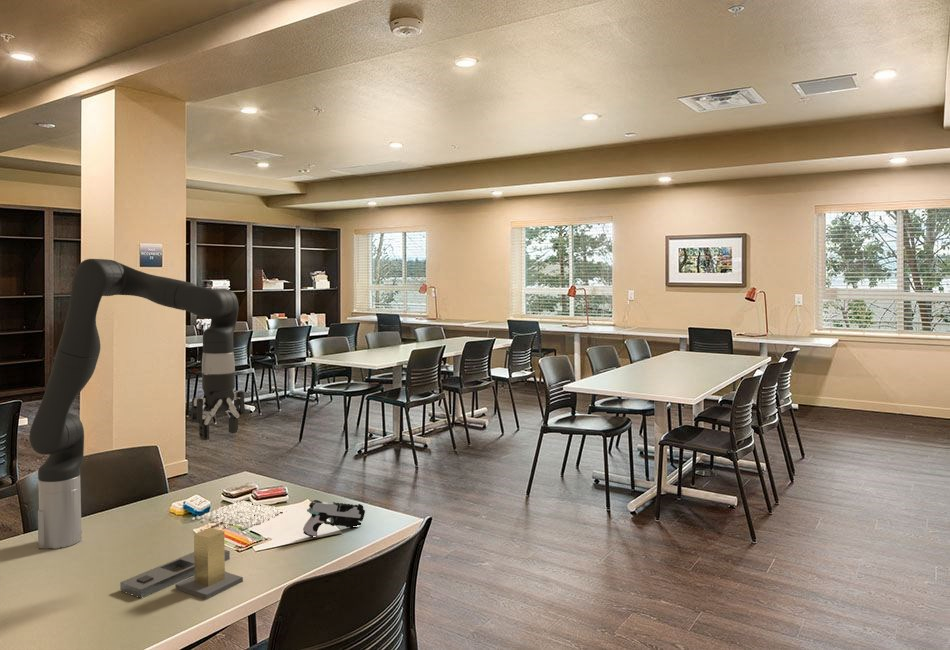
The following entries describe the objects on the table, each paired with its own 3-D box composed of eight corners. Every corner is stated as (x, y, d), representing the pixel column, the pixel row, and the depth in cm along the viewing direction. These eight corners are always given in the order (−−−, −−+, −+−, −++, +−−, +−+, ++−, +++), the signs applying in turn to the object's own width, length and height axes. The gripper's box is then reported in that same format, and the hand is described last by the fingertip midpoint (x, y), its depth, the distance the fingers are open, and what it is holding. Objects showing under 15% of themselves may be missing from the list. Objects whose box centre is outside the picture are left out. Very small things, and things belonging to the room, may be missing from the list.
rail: (141, 598, 146) (140, 588, 145) (120, 591, 149) (120, 580, 149) (229, 559, 167) (229, 549, 167) (209, 553, 170) (209, 544, 170)
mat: (206, 599, 146) (206, 594, 146) (175, 588, 150) (175, 584, 150) (242, 581, 155) (242, 577, 154) (212, 571, 159) (212, 567, 159)
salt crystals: (291, 513, 202) (291, 507, 202) (243, 533, 184) (243, 527, 184) (239, 503, 211) (239, 497, 210) (189, 521, 193) (189, 516, 192)
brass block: (208, 586, 149) (207, 537, 149) (194, 582, 152) (193, 533, 151) (224, 578, 153) (224, 531, 153) (211, 574, 156) (210, 527, 155)
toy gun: (357, 542, 189) (367, 506, 190) (303, 537, 179) (313, 500, 180) (354, 539, 191) (363, 504, 192) (299, 535, 180) (309, 497, 182)
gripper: (230, 366, 174) (231, 429, 175) (183, 372, 161) (184, 440, 162) (251, 368, 170) (252, 432, 171) (205, 375, 157) (205, 444, 159)
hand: (219, 436), depth 167 cm, fingers open, 8 cm apart
